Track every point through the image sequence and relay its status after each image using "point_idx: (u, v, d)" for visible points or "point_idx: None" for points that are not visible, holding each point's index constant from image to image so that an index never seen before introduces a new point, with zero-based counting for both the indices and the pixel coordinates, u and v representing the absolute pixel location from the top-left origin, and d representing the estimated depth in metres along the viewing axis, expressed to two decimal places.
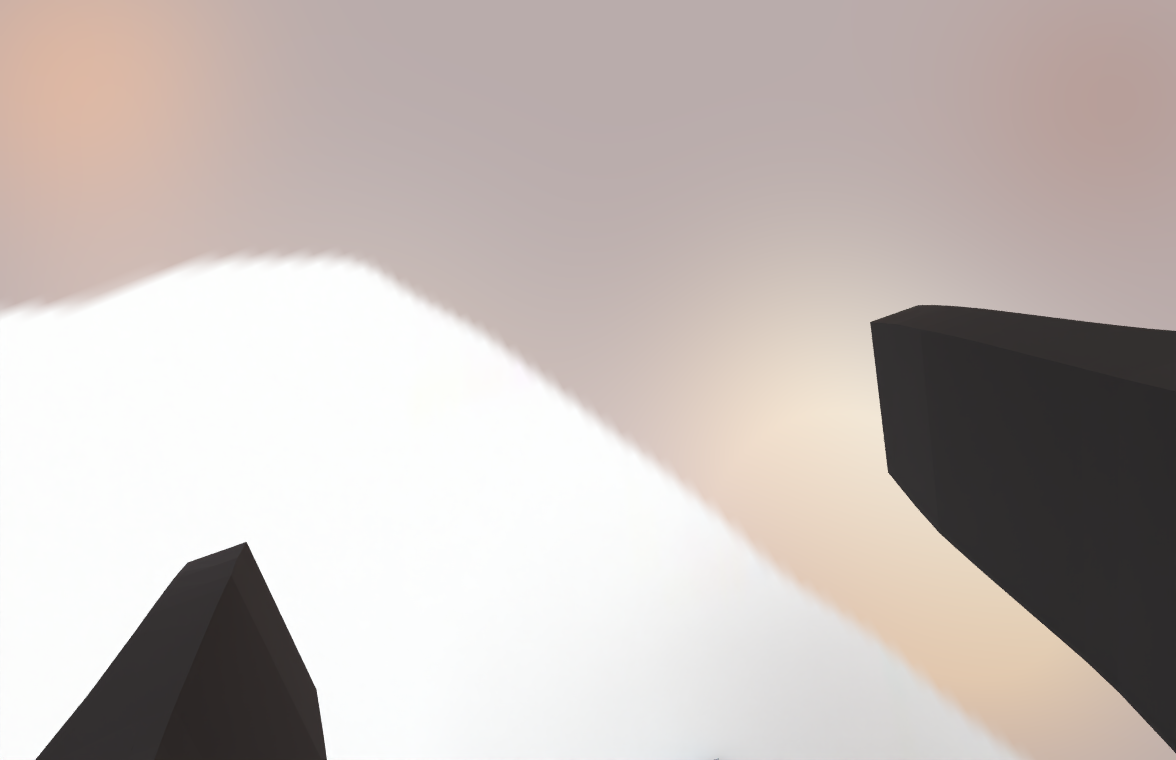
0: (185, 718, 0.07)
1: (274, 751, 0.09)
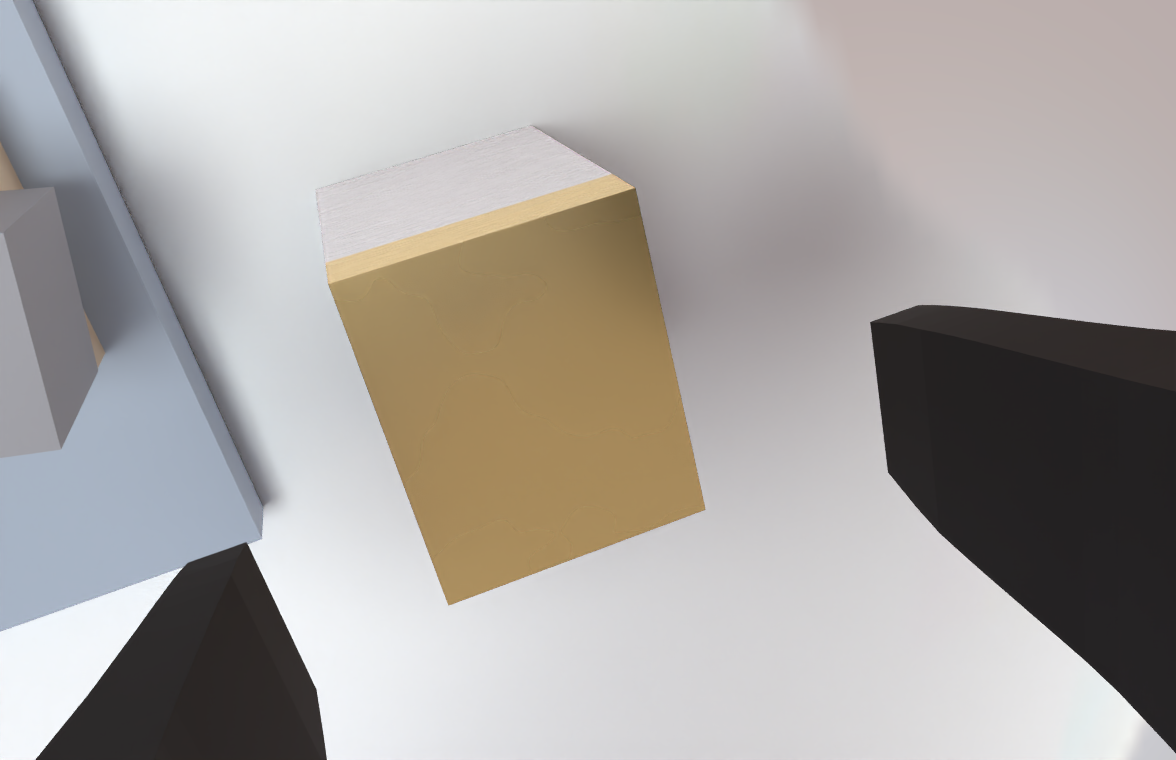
0: (185, 718, 0.07)
1: (274, 751, 0.09)
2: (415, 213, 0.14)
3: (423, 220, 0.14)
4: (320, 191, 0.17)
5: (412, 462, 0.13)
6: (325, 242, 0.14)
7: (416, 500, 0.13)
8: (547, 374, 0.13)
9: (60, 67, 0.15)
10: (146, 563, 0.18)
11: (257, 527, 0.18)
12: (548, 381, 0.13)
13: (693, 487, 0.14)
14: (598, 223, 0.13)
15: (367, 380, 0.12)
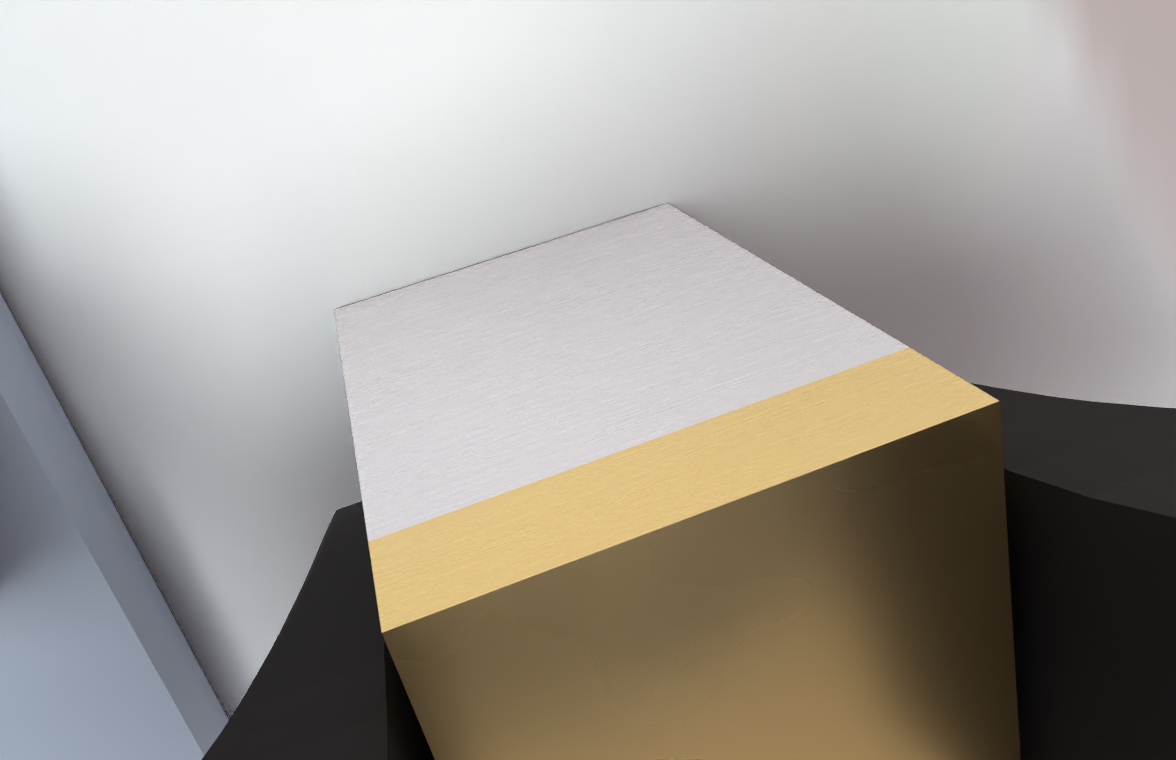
0: None
1: None
2: (526, 405, 0.08)
3: (548, 431, 0.07)
4: (342, 316, 0.11)
5: None
6: (362, 468, 0.07)
7: None
8: (797, 741, 0.07)
9: None
10: None
11: None
12: (797, 754, 0.07)
13: None
14: (922, 472, 0.06)
15: None
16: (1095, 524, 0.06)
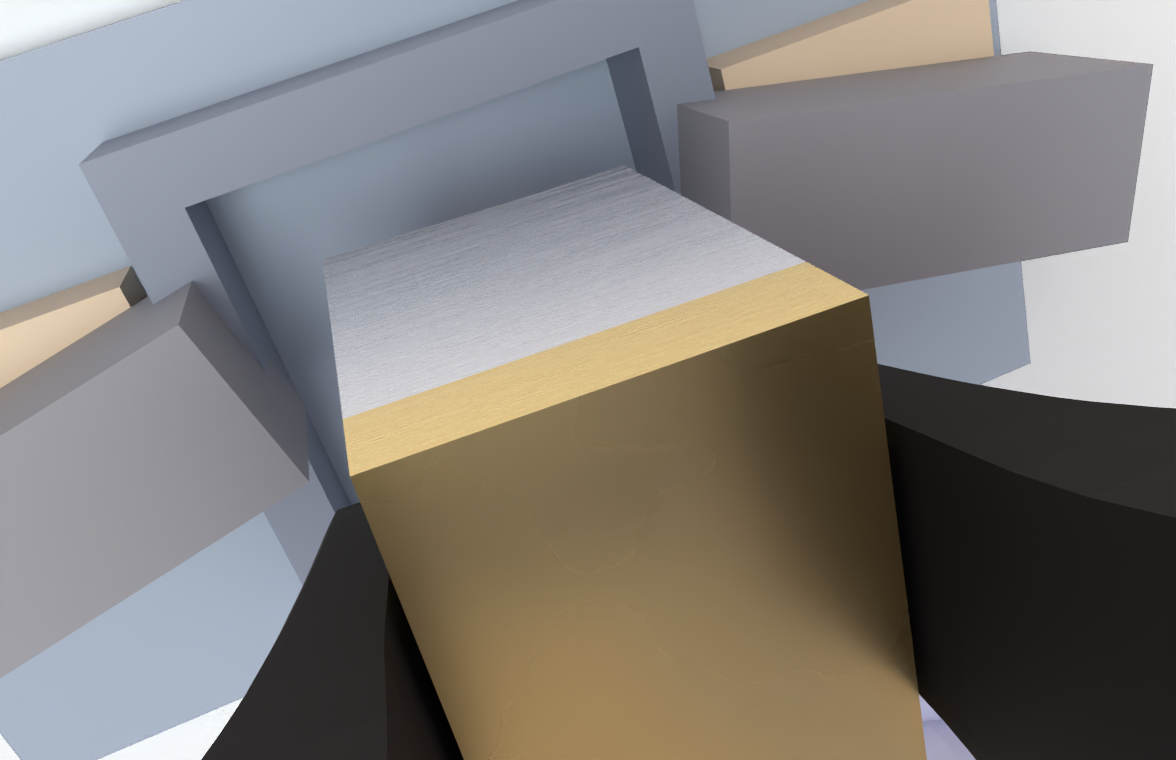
0: (391, 640, 0.07)
1: None
2: (483, 319, 0.09)
3: (499, 336, 0.08)
4: (330, 264, 0.12)
5: (486, 743, 0.08)
6: (341, 370, 0.09)
7: None
8: (707, 595, 0.08)
9: None
10: None
11: (1027, 353, 0.22)
12: (709, 605, 0.08)
13: (914, 741, 0.09)
14: (806, 354, 0.07)
15: (415, 624, 0.07)
16: (1093, 524, 0.06)
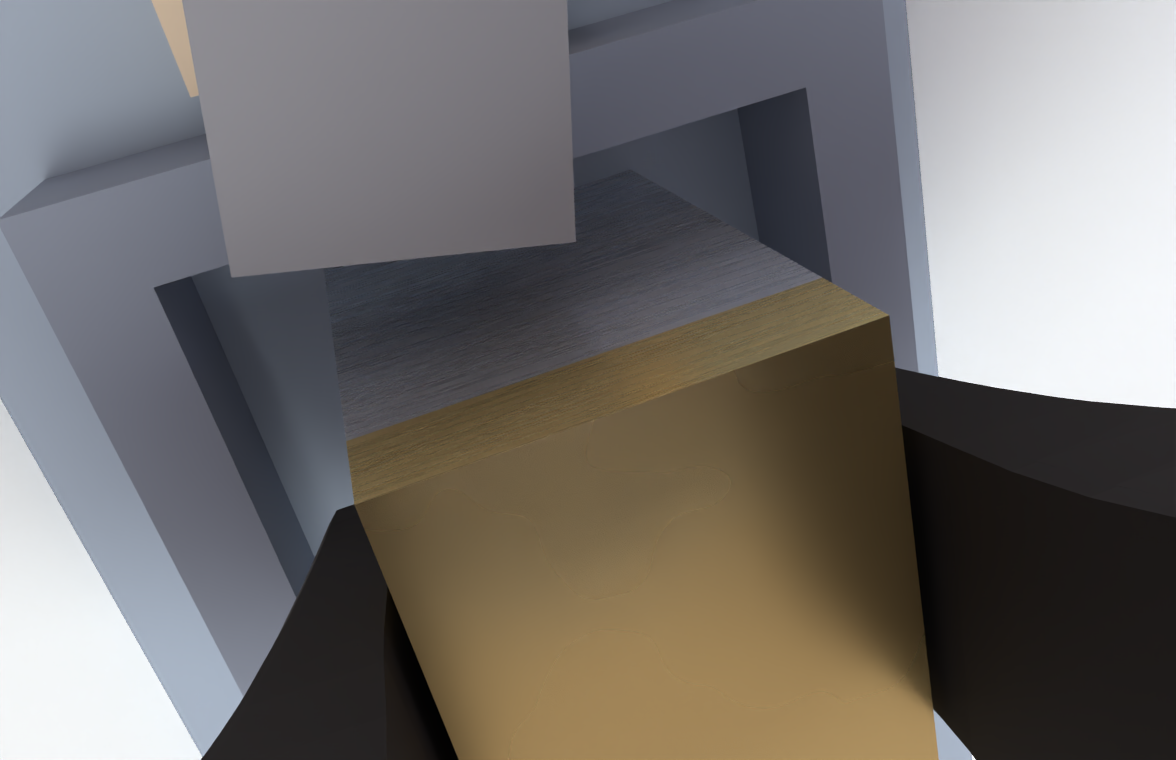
0: (391, 640, 0.07)
1: None
2: (488, 335, 0.09)
3: (506, 353, 0.08)
4: (331, 271, 0.12)
5: None
6: (343, 387, 0.08)
7: None
8: (721, 619, 0.08)
9: None
10: None
11: None
12: (722, 631, 0.08)
13: None
14: (823, 377, 0.07)
15: (421, 653, 0.07)
16: (1095, 524, 0.06)
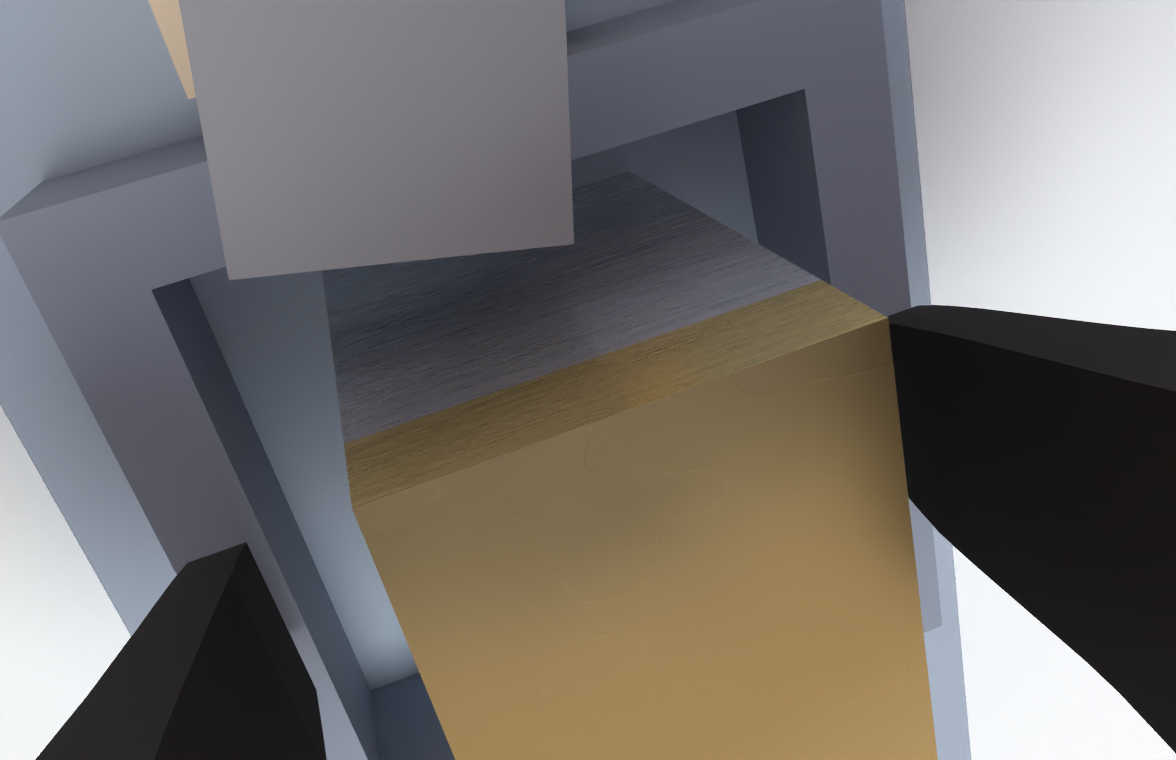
0: (185, 718, 0.07)
1: (274, 751, 0.09)
2: (487, 337, 0.09)
3: (504, 356, 0.08)
4: (329, 273, 0.12)
5: None
6: (341, 390, 0.08)
7: None
8: (720, 622, 0.08)
9: None
10: None
11: None
12: (720, 634, 0.08)
13: None
14: (822, 380, 0.07)
15: (419, 657, 0.07)
16: None
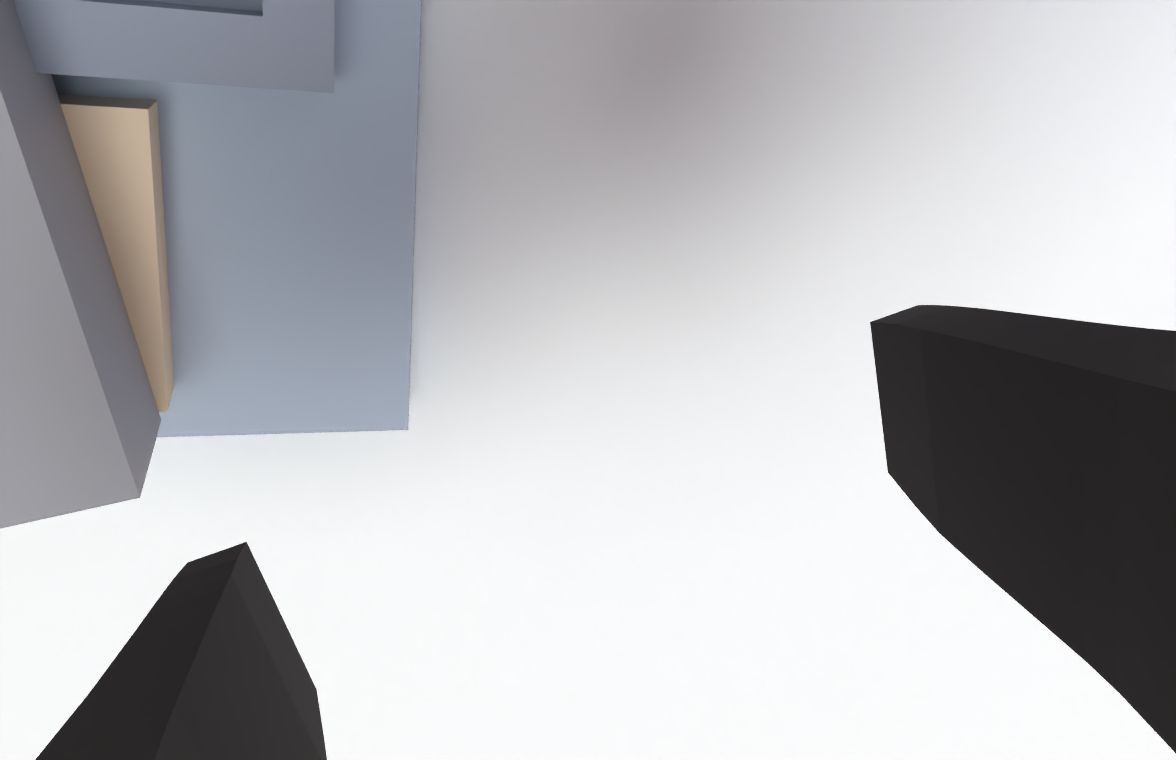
0: (185, 718, 0.07)
1: (274, 751, 0.09)
2: None
3: None
4: None
5: None
6: None
7: None
8: None
9: None
10: None
11: None
12: None
13: None
14: None
15: None
16: None
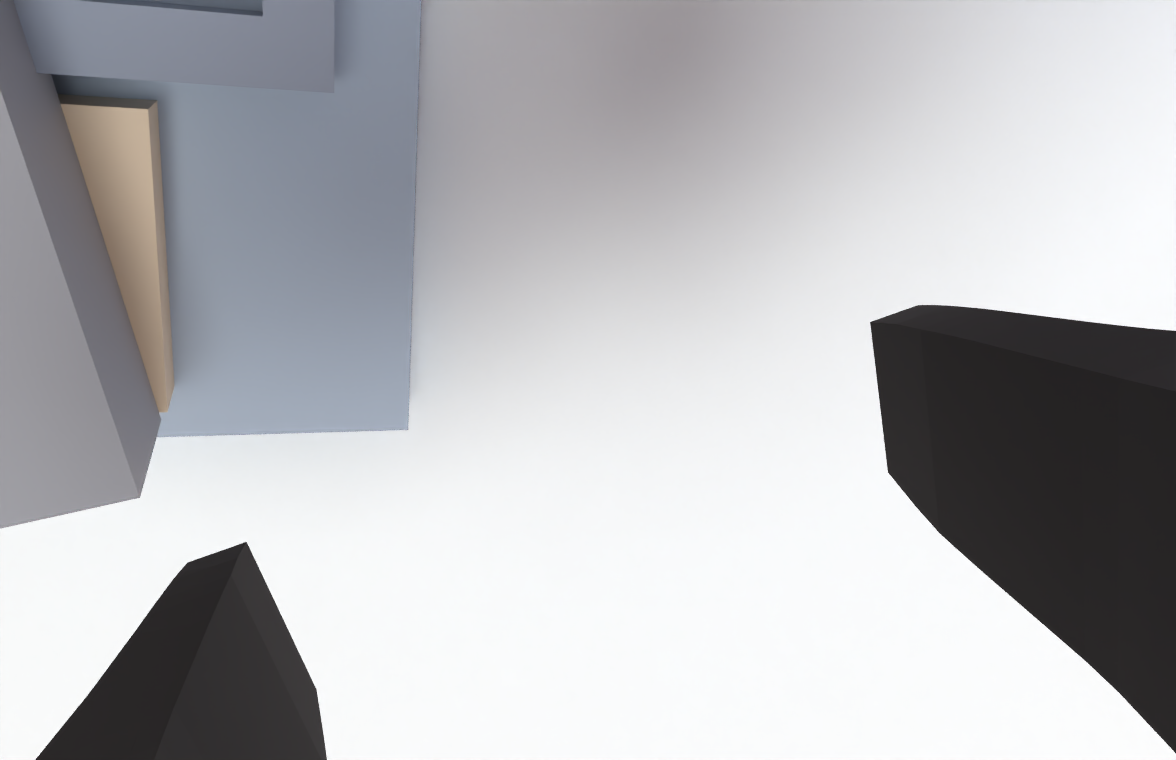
0: (185, 718, 0.07)
1: (274, 751, 0.09)
2: None
3: None
4: None
5: None
6: None
7: None
8: None
9: None
10: None
11: None
12: None
13: None
14: None
15: None
16: None
